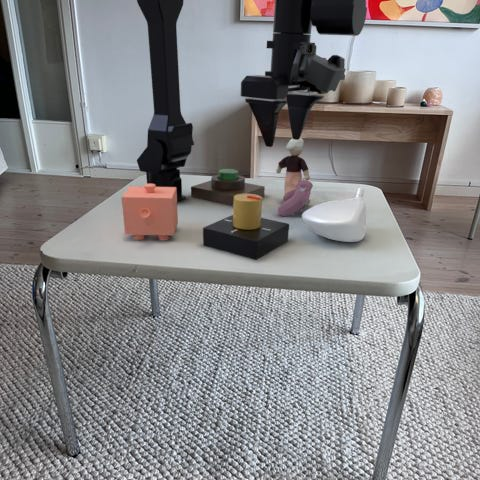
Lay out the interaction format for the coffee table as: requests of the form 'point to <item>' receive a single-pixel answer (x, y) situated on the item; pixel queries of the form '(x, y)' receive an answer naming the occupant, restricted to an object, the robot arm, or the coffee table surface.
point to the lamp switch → (228, 174)
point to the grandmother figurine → (293, 165)
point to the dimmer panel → (245, 237)
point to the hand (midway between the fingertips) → (283, 142)
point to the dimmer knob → (247, 211)
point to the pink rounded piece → (296, 198)
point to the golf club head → (339, 218)
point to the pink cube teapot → (150, 211)
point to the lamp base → (225, 190)
